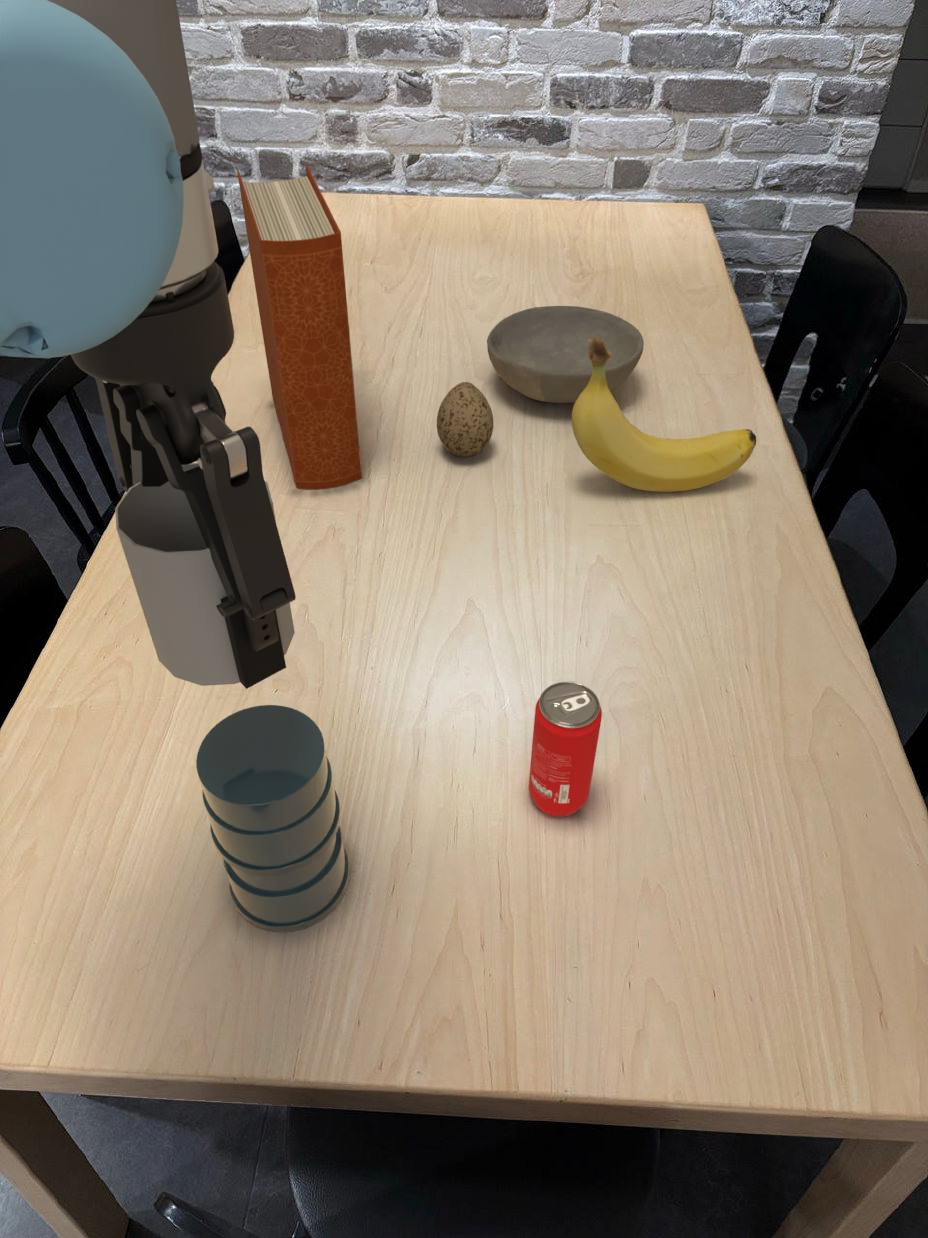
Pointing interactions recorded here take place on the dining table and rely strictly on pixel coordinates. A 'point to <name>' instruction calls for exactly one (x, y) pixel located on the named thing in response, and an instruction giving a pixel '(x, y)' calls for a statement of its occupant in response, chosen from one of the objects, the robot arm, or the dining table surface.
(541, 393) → the bowl
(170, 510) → the cup
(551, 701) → the beverage can
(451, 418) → the decorative egg
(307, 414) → the book
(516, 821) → the dining table surface
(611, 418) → the banana
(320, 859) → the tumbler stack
